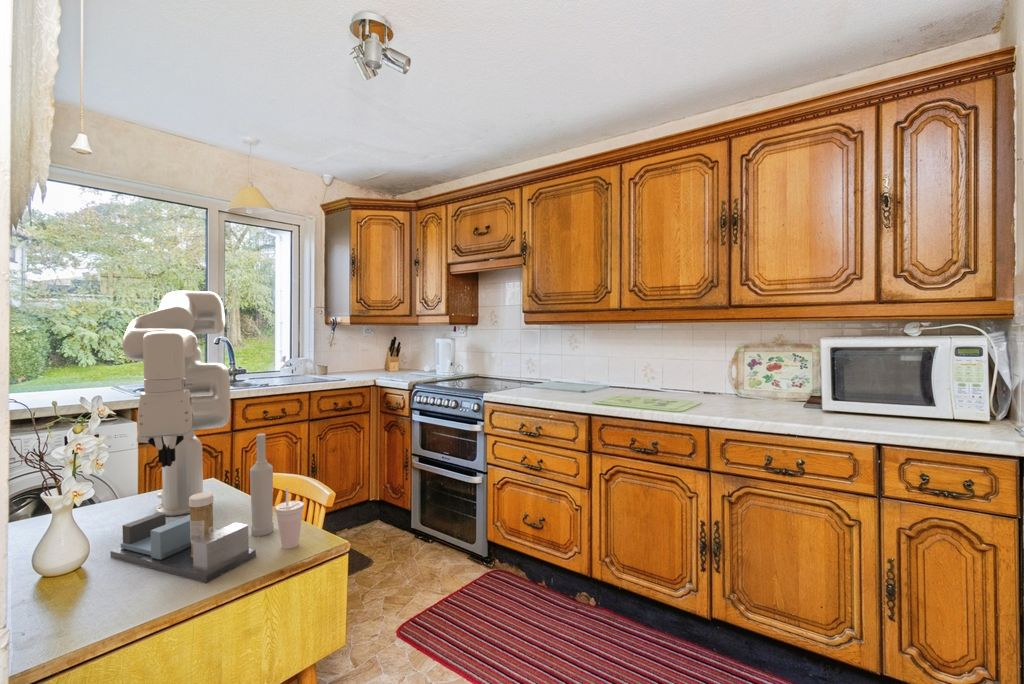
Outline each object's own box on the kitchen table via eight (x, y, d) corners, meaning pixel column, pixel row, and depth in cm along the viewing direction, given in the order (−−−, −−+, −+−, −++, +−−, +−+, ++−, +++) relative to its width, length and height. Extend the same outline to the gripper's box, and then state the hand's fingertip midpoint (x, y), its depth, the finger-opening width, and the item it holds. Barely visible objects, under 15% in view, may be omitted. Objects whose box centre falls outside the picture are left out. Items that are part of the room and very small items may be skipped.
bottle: (251, 529, 123) (250, 433, 122) (274, 526, 125) (273, 431, 124) (249, 538, 118) (248, 437, 117) (273, 534, 120) (271, 435, 119)
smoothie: (270, 545, 114) (270, 487, 114) (297, 536, 119) (297, 481, 119) (281, 554, 110) (280, 494, 109) (309, 545, 115) (308, 487, 114)
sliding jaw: (118, 548, 109) (117, 522, 108) (163, 530, 118) (162, 506, 118) (160, 559, 104) (160, 532, 104) (204, 540, 113) (203, 515, 113)
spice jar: (219, 552, 108) (218, 493, 107) (198, 561, 104) (197, 500, 103) (205, 548, 110) (204, 490, 109) (185, 557, 105) (184, 496, 105)
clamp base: (110, 557, 108) (109, 524, 108) (164, 535, 119) (164, 505, 119) (206, 583, 98) (205, 547, 97) (255, 556, 109) (255, 523, 109)
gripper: (205, 381, 115) (207, 456, 117) (127, 385, 108) (130, 464, 110) (202, 386, 109) (204, 465, 110) (119, 390, 102) (122, 474, 103)
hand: (167, 464), depth 110 cm, fingers closed
